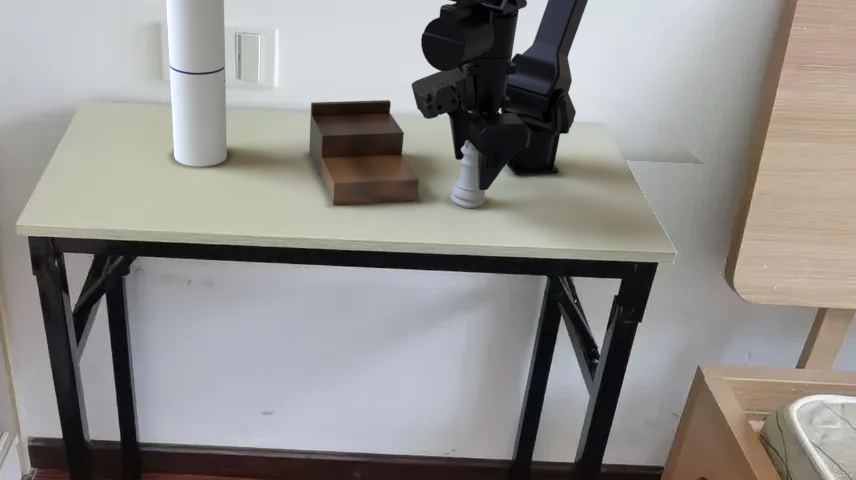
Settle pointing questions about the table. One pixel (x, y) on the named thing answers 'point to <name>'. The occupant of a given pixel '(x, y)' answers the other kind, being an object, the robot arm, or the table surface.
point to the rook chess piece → (468, 180)
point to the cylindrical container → (197, 80)
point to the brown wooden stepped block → (360, 153)
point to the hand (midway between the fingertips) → (470, 174)
